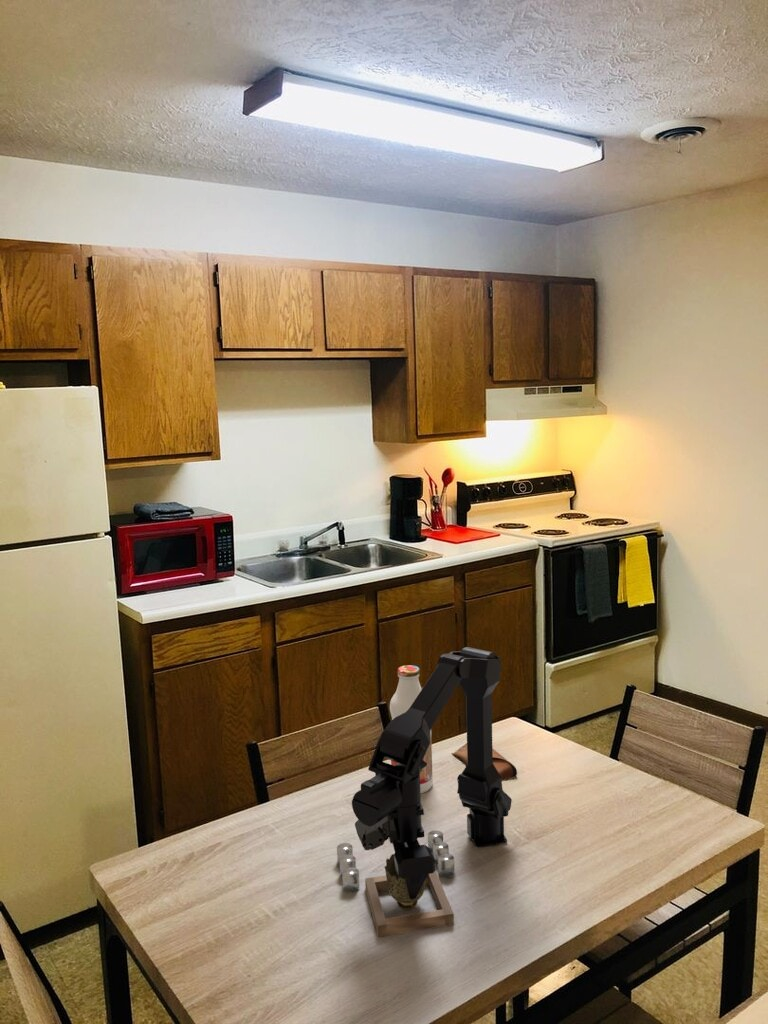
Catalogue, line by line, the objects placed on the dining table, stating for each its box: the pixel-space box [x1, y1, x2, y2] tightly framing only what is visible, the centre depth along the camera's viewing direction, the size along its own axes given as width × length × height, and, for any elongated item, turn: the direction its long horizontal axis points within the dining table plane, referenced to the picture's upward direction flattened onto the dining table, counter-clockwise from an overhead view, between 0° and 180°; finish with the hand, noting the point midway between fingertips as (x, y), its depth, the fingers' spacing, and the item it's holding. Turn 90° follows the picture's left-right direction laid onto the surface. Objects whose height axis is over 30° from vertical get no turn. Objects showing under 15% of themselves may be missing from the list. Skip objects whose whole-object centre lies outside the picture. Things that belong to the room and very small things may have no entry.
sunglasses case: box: [451, 742, 518, 781], centre depth 186 cm, size 18×7×7 cm, turn 25°
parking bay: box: [364, 869, 455, 937], centre depth 136 cm, size 13×13×2 cm
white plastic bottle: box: [389, 664, 434, 795], centre depth 175 cm, size 9×9×28 cm
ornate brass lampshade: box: [384, 853, 426, 911], centre depth 135 cm, size 8×7×8 cm
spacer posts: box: [336, 830, 455, 893], centre depth 147 cm, size 21×11×3 cm, turn 101°
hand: (406, 881), depth 135 cm, fingers open, 9 cm apart
